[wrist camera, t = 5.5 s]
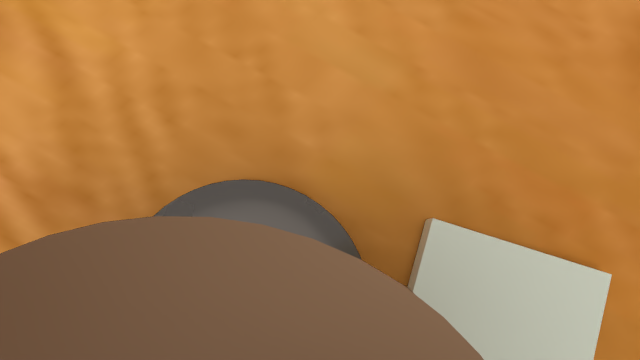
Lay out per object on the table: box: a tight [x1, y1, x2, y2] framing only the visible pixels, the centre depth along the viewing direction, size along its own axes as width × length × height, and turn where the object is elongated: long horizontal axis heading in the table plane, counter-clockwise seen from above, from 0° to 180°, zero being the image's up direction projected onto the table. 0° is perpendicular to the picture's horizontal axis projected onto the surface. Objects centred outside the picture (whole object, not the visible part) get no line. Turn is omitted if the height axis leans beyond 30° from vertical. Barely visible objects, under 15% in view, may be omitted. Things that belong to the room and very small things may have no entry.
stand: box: [408, 218, 612, 360], centre depth 22 cm, size 8×8×1 cm
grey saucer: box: [153, 180, 361, 260], centre depth 22 cm, size 10×10×1 cm
